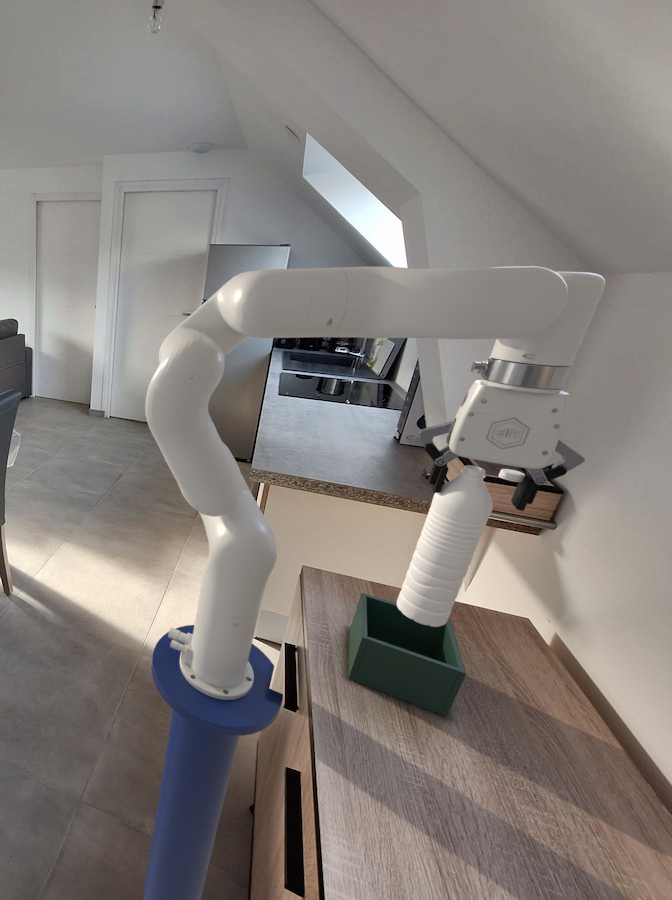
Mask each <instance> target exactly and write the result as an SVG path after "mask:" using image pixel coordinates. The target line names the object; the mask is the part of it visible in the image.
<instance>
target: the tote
mask: <svg viewBox="0 0 672 900" xmlns="http://www.w3.org/2000/svg"><path fill="white" fill-rule="evenodd" d="M348 637H349V638H348V639H349V641H348V676H347V677H348V679H349V680H351V681H354V682H356V683H359V684H362V685H365V686H368V687H370V688H372V689H375V690H378V691H379V692H383V693H385V694H388V695H390V696H393V697H394V698H398V699H400V700H403V701H405V702H408V703H411V704H414V705H415V706H419V707H420V708H423V709H426V710H429V711H431V712H434V713H436V714H439V715H442V716H444V717H448V715H449V713H450V711H451V709H452V706H453V704H454V701H455V699H456V698H457V695H458V693H459V691H460V689H461V686H462V684H463V682H464V680H465V677H466V675H467V671H466V668H465V665H464V661H463V657H462V654H461V650H460V647H459V643H458V640H457V636H456V632H455V628H454V626H453V622H452V620H451V619H448V620H447V622H446V624H445V625H443V626H439V627H432V626H429V625H423V624H420V623H418V622H415V621H414V620H413V619H410V618H408V617H406V616H405V615H404V614H403V613H402V612H401V611H400V610H399V609H398V607H397V602H393V601H390V600H387V599H384V598H380V597H377V596H375V595H370V594H367V593H364V592H361V593H360V597H359V600H358V602H357V606H356V609H355V611H354V615H353V618H352V620H351V624H350V627H349V635H348Z"/></svg>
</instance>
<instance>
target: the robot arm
mask: <svg viewBox="0 0 672 900" xmlns="http://www.w3.org/2000/svg"><path fill="white" fill-rule="evenodd" d="M605 289H606V280H605V278H604V277H603V276H602V275H601V274H598V273H595V272H594V273H593V272H584V271H583V272H582V271H554V270H552V269H550V268H547V267H544V266H535V265H530V266H528V265H527V266H526V265H525V266H524V265H522V266H519V265H518V266H494V267H471V268H470V267H469V268H468V267H467V268H416V267H415V268H413V267H401V266H400V267H399V266H346V267H311V268H305V267H304V268H276V269H275V268H274V269H273V268H272V269H258V270H247V271H244V272H241V273H238V274H237V275H234V276H233V277H232V278H231V279H229V280H228V281H226V282H225V283H224V284H223V285H222V286H221V287H220V288H219V289H218V290H216V292H214V293H213V294H212V295H211V296H210V297H209V298H208V299H207V300H206V301H205V302H203V304H202V305H200V306H199V307H198V308H197V309H196V310H195V311H193V312H192V313H191V314H190V315H188V317H187V318H185V319H184V320H183V321H182V322H181V323H179V324H178V325H177V326H176V327H175V328H173V330H172V331H171V332H170V333H168V334H167V336H166V337H165V338H164V340H163V342H162V343H161V345H160V348H159V352H158V366H157V368H156V370H155V372H154V373H153V376H152V377H151V379H150V382H149V385H148V387H147V391H146V394H145V395H146V396H145V402H144V412H145V419H146V422H147V425H148V428H149V430H150V432H151V435H152V437H153V438H154V440H155V443H156V444H157V446H158V448H159V450H160V452H161V455H162V456H163V459H164V460H165V462H166V464H167V466H168V468H169V469H170V472H171V474H172V475H173V478H174V479H175V481H176V484H177V485H178V487H179V490H180V492H181V495H182V496H183V498H184V500H185V501H186V502H187V504H188V505H189V506H191V507H192V509H194V510H195V511H197V512H198V513H199V515H200V518H201V521H202V522H203V526H204V529H205V533H206V537H207V540H208V557H207V561H206V564H205V566H204V570H203V572H202V577H201V582H200V588H199V595H198V601H197V607H196V613H195V619H194V624H193V625H194V631H193V634H191V633H187V634H185V633H183V632H180V631H179V630H177V629H176V628H174V627H170V628H169V631H168V632H169V633H168V632H167V633H168V638H171V639H173V640H172V641H171V644H170V647H171V648H173V649H176V650H179V651H181V655H180V662H179V663H180V668H181V671H182V674H183V675H184V677H185V678H186V680H187V681H188V682H189V683H190V684H191V685H192V686H193V687H194V688H195V689H197V690H198V691H200V692H202V693H203V694H206V695H208V696H210V697H213V698H216V699H222V700H234V699H239V698H241V697H243V696H245V695H246V694H248V693H249V691H250V690H251V688H252V685H253V681H254V672H253V669H252V666H251V665H250V663H249V661H248V658H249V654H250V649H251V645H252V644H253V640H254V635H255V631H256V627H257V622H258V619H259V614H260V611H261V610H260V609H261V603H262V600H263V597H264V591H265V588H266V585H267V583H268V580H269V578H270V576H271V574H272V572H273V569H274V567H275V564H276V561H277V558H278V545H277V544H278V543H277V540H276V536H275V534H274V532H273V530H272V527H271V525H270V524H269V522H268V519H267V518H266V516H265V514H263V512H262V510H261V509H260V507H259V504H258V503H257V501H256V499H255V498H254V497H255V496H254V495H253V494H252V492H251V490H250V488H249V486H248V484H247V482H246V480H245V478H244V476H243V474H242V472H241V470H240V469H241V468H240V466H239V465H238V463H237V461H236V458H235V457H234V455H233V454H232V452H231V450H230V448H229V447H228V446H227V444H226V443H224V442H223V440H222V439H221V437H220V435H219V433H218V430H217V428H216V426H215V423H214V422H213V420H212V417H211V415H210V412H209V404H210V399H211V397H212V395H213V393H214V392H215V390H216V388H217V387H218V386H219V384H220V382H221V381H222V378H223V376H224V373H225V368H226V367H225V366H226V359H225V357H226V356H228V355H229V354H230V353H231V352H232V351H234V350H235V348H237V347H238V346H239V345H241V343H243V342H244V341H245V340H246V339H247V338H248V337H251V338H259V339H291V338H292V339H296V338H363V339H435V340H436V339H440V340H495V342H494V345H493V346H492V347H493V348H492V351H491V353H490V356H489V357H487V359H485V361H474V362H472V365H471V368H470V372H471V373H477V374H478V375H480V376H481V379H477V380H474V381H473V383H472V384H471V386H470V388H469V389H468V391H467V393H466V394H465V396H464V398H463V399H462V402H461V404H460V406H459V408H458V410H457V412H456V414H455V415H454V418H453V420H451V421H447V422H443V423H440V424H436V425H432V426H429V427H425V428H421V429H419V430H418V436H419V438H420V440H421V443H422V445H423V448H424V451H425V452H426V453H427V455H428V456H429V457H430V458H431V460H432V461H433V464H432V467H431V470H430V473H429V475H428V478H427V483H428V484H429V485H430V486H431V490H432V493H434V494H435V493H438V492H440V491H441V489H442V486H443V485H444V484H445V480H446V479H447V475H448V472H449V467H448V464H449V463H450V462H452V461H454V460H455V459H457V458H458V457H461V458H466V459H471V460H475V461H476V460H477V461H482V462H486V463H487V462H488V463H491V464H492V463H493V464H498V465H505V466H510V467H514V468H515V467H516V468H523V469H525V472H526V474H525V477H524V479H523V481H522V482H517V485H516V488H515V490H514V492H513V495H512V497H511V500H510V502H511V504H512V506H513V507H514V508H515V509H516V510H517V511H521V512H524V511H525V509H526V507H527V505H532V504H533V502H534V501H535V498H536V496H537V493H538V491H539V489H540V486H544V485H546V484H547V483H548V482H550V481H552V480H554V479H557V478H560V477H563V476H565V475H566V474H567V473H568V472H569V471H572V470H573V469H574V468H577V467H579V466H580V465H582V464H583V463H584V462H585V461H586V459H585V457H584V456H583V455H582V454H580V453H578V452H577V451H576V450H574V449H573V448H572V447H570V446H569V445H568V444H566V443H564V442H563V441H561V440H560V436H561V433H562V430H563V426H564V423H565V419H566V416H567V411H568V407H569V400H570V393H569V392H566V391H564V390H562V389H563V387H564V384H565V382H566V379H567V377H568V375H569V373H570V371H571V369H572V366H573V363H574V361H575V359H576V356H577V355H578V351H579V350H580V347H581V345H582V342H583V340H584V338H585V335H586V334H587V331H588V329H589V326H590V324H591V322H592V319H593V317H594V315H595V312H596V310H597V308H598V305H599V303H600V301H601V299H602V296H603V293H604V291H605ZM446 434H447V436H446V444H447V445H446V446H444V447H442V448H441V449H438V447H437V445H436V444H435V443H434V438H435V437H439V436H442V435H446ZM555 452H556V453H557V454H558V455H560V456H561V458H560V459H559V460H558V461H556V462H554V463H551V464H550V462H551V460H552V459H553V456H554V454H555ZM174 640H176V641H174ZM177 641H179V642H182V643H184V645H183V644H180V643H179V642H177Z"/></svg>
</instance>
